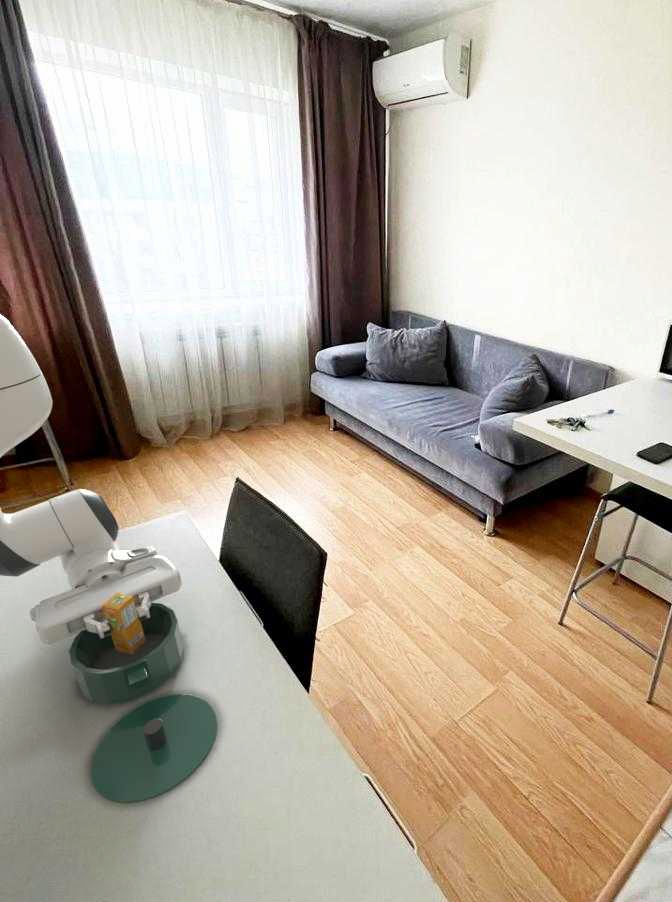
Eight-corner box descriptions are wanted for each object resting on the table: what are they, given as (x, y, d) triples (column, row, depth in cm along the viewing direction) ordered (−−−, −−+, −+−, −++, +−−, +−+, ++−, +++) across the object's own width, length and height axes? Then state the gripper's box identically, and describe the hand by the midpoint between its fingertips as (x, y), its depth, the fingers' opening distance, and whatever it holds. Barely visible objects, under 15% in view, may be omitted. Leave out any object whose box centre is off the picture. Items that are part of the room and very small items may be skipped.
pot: (90, 739, 71) (77, 704, 68) (74, 650, 85) (63, 617, 82) (198, 686, 80) (191, 653, 77) (168, 613, 94) (161, 582, 90)
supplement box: (113, 652, 79) (99, 604, 75) (130, 636, 82) (118, 589, 78) (130, 657, 79) (117, 609, 75) (147, 641, 82) (135, 594, 78)
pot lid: (102, 834, 61) (93, 812, 59) (85, 737, 71) (77, 716, 70) (232, 757, 70) (228, 736, 68) (200, 681, 81) (196, 661, 79)
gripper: (21, 592, 78) (37, 644, 70) (162, 542, 92) (189, 581, 83) (33, 622, 81) (49, 675, 72) (168, 569, 94) (195, 609, 86)
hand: (125, 624), depth 78 cm, fingers closed on supplement box, 4 cm apart
